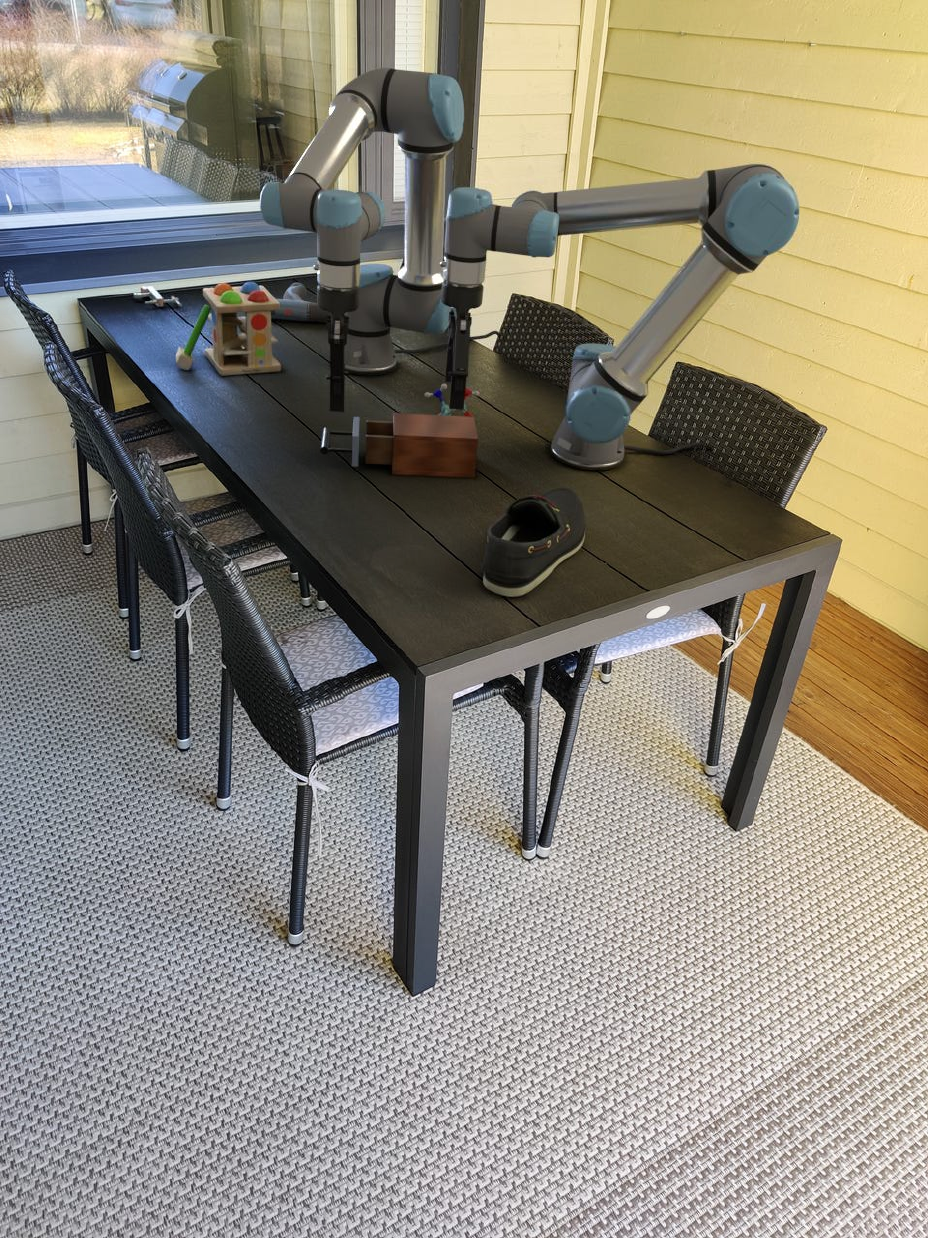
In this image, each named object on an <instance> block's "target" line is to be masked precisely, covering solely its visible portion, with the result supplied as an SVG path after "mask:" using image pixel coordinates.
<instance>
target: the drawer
mask: <svg viewBox="0 0 928 1238" xmlns="http://www.w3.org/2000/svg"><path fill="white" fill-rule="evenodd" d="M360 421H361V417H360V416H353V421H352V431H346V430H331V429H330V428H329V427H324V428H323V429H322V430H321V439H320V447H319V452H320V453H321V454H322V455H327V454H329V453H347V454H348V453H349V454H351V467H354V468H355V467H356V468H358V467H359V458H360V457H359V456H360V455H359V454H360ZM365 434H366V435H365V464H367V465H391V466H392V462H393V440H394V433H393V420H392V421H391V420H369V419H368V420H366V433H365ZM335 435H336V436H352V439H351V440H352V441H351V445H352V446H351V448H341V447H330V441H331V436H335Z"/></svg>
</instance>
